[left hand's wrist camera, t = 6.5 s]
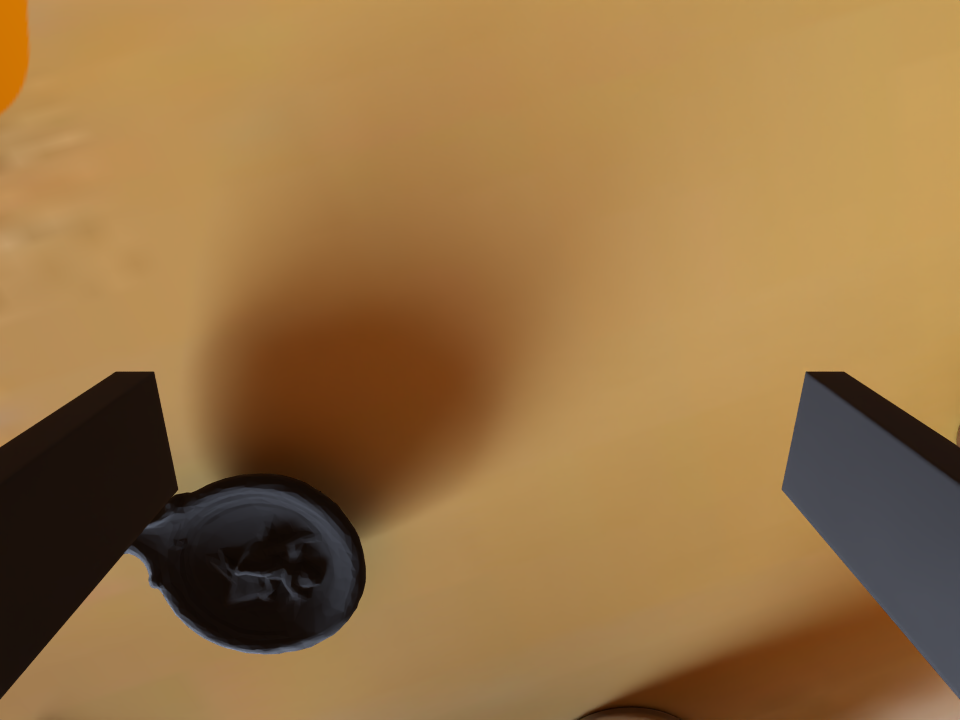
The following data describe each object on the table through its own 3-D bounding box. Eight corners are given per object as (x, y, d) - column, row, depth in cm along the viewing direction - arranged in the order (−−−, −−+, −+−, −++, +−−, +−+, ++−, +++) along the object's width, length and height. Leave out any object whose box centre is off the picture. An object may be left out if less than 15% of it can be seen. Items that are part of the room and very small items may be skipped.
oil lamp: (147, 392, 42) (106, 424, 38) (404, 492, 45) (395, 533, 41) (101, 550, 47) (60, 596, 42) (336, 631, 50) (321, 683, 45)
